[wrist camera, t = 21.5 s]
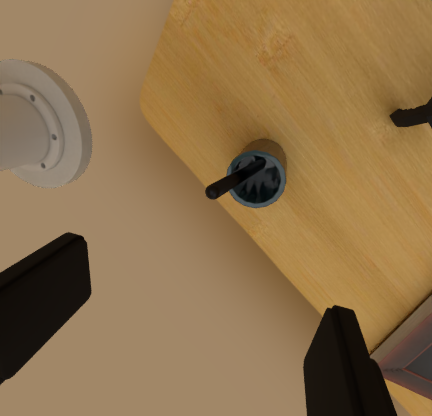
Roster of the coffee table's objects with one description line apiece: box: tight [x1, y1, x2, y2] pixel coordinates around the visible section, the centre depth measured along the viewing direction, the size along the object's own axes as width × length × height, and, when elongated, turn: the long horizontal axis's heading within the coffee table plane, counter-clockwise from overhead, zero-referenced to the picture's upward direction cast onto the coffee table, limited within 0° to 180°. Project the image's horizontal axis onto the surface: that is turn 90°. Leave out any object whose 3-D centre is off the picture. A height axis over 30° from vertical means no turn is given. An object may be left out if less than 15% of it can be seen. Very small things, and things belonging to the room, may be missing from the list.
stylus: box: [205, 159, 266, 199], centre depth 25 cm, size 1×1×13 cm
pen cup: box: [226, 139, 287, 208], centre depth 27 cm, size 6×6×8 cm
